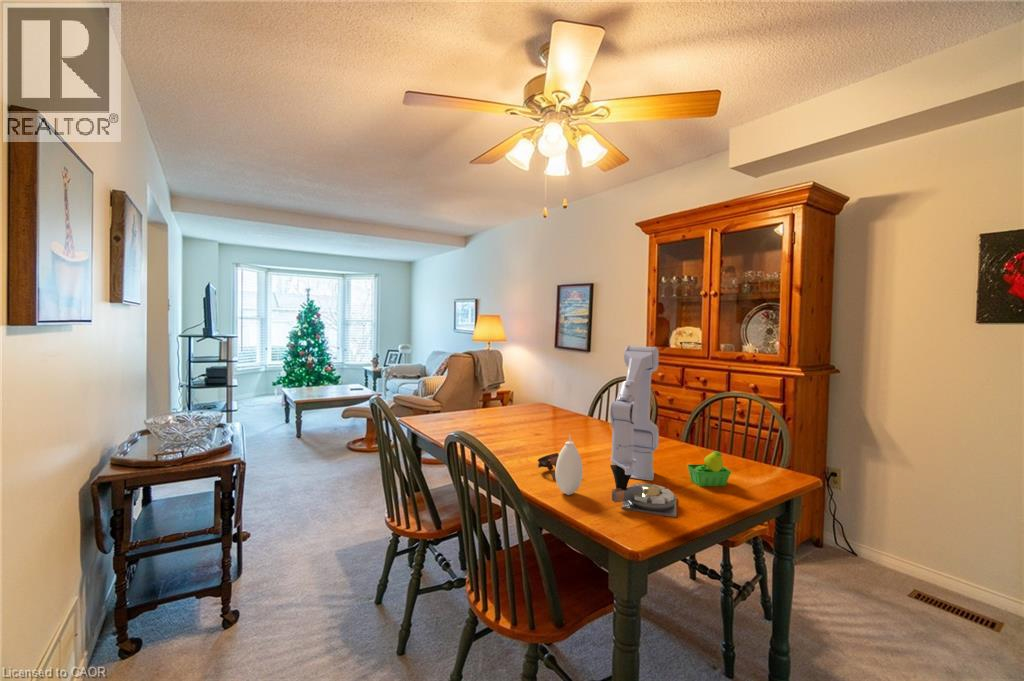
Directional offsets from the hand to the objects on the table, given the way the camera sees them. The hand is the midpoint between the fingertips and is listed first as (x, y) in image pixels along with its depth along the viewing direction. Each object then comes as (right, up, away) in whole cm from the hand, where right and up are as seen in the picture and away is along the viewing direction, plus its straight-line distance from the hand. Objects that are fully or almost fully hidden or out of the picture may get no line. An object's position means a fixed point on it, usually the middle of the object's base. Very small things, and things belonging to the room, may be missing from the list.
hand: (621, 491), depth 127 cm
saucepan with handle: (+6, -1, -1) cm, 7 cm away
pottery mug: (-16, -2, +23) cm, 28 cm away
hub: (+8, -4, +1) cm, 9 cm away
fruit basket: (+32, -4, +18) cm, 37 cm away
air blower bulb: (-14, -3, +7) cm, 16 cm away
